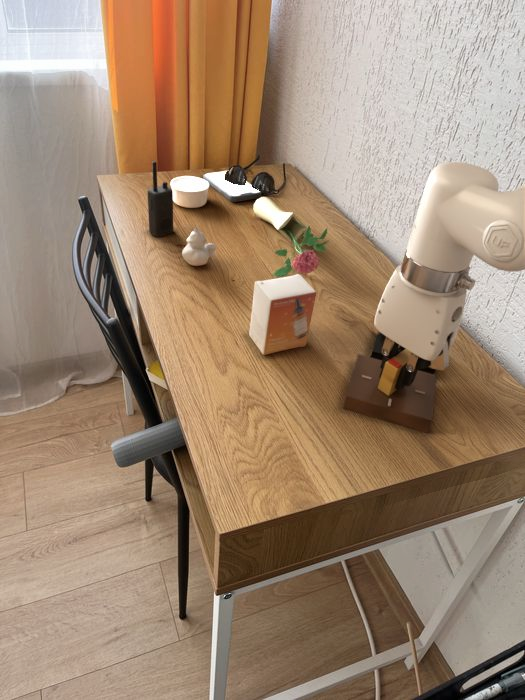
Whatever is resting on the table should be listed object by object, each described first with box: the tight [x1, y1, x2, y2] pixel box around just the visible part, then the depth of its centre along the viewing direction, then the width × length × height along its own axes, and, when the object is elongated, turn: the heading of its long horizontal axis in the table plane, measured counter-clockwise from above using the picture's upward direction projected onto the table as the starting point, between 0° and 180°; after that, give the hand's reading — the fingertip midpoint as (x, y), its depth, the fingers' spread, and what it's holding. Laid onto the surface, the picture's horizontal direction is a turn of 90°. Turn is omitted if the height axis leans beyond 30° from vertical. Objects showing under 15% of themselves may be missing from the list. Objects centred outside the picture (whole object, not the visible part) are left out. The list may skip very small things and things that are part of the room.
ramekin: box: [170, 175, 210, 209], centre depth 122 cm, size 9×9×4 cm
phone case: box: [202, 170, 262, 203], centre depth 131 cm, size 9×2×16 cm
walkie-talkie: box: [147, 160, 174, 237], centre depth 106 cm, size 5×3×15 cm
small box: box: [248, 273, 317, 356], centre depth 82 cm, size 8×6×10 cm
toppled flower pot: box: [252, 196, 330, 277], centre depth 105 cm, size 12×12×35 cm
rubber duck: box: [181, 225, 217, 267], centre depth 100 cm, size 5×7×8 cm
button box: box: [369, 333, 437, 375], centre depth 85 cm, size 10×8×4 cm
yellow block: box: [378, 349, 411, 396], centre depth 74 cm, size 5×2×5 cm, turn 133°
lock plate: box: [342, 353, 437, 433], centre depth 77 cm, size 12×10×3 cm
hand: (394, 379), depth 75 cm, fingers closed on yellow block, 2 cm apart
